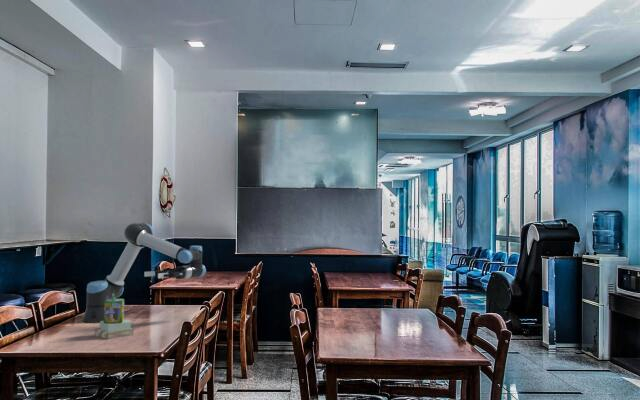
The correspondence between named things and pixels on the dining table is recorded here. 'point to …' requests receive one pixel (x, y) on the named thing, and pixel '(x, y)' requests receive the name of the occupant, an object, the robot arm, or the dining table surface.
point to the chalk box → (114, 310)
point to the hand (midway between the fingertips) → (151, 275)
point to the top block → (115, 326)
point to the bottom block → (113, 333)
